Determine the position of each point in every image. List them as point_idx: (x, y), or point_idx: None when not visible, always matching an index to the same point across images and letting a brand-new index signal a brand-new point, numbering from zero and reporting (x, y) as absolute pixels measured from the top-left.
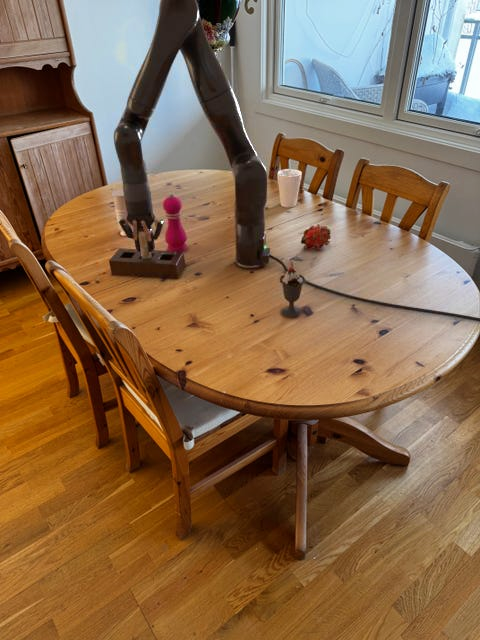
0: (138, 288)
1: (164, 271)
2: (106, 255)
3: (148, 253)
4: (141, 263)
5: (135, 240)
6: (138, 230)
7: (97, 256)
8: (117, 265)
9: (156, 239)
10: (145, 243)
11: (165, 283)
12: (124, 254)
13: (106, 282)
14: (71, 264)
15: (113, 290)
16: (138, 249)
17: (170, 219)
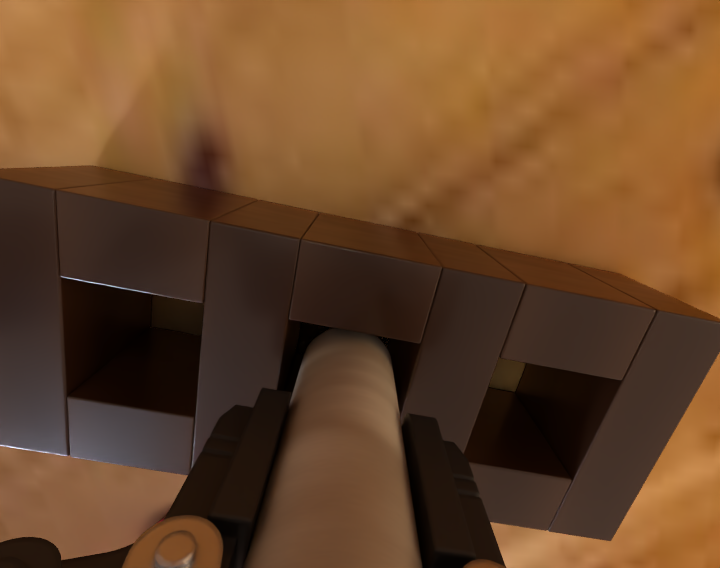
0: (396, 24)
1: (166, 192)
2: (645, 523)
3: (305, 381)
4: (381, 251)
5: (488, 564)
6: None
7: (702, 516)
8: (619, 291)
9: (3, 543)
10: (302, 487)
11: (177, 99)
12: (558, 460)
13: (667, 159)
14: None
15: (614, 3)
16: (427, 430)
17: None
